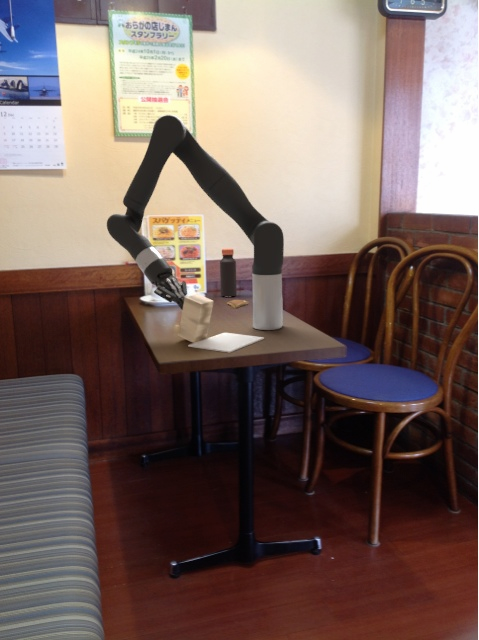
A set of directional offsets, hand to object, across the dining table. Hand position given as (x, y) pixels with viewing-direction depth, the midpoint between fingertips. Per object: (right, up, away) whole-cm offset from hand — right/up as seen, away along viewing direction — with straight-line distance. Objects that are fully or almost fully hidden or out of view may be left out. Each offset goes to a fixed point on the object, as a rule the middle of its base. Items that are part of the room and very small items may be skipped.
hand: (187, 309), depth 166 cm
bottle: (+10, +7, +78) cm, 79 cm away
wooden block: (+1, -8, +1) cm, 8 cm away
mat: (+11, -10, -3) cm, 15 cm away
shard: (+15, +2, +56) cm, 59 cm away
